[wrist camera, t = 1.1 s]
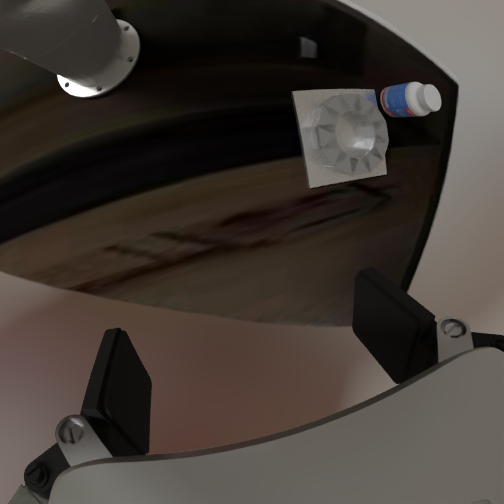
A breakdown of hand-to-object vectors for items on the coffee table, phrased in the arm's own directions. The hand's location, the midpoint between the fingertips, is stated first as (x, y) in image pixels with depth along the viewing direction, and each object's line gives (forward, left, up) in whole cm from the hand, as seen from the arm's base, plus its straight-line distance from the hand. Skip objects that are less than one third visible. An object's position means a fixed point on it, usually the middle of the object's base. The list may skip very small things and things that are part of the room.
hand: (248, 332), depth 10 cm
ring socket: (-6, +21, -28) cm, 36 cm away
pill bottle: (-11, +32, -29) cm, 44 cm away
